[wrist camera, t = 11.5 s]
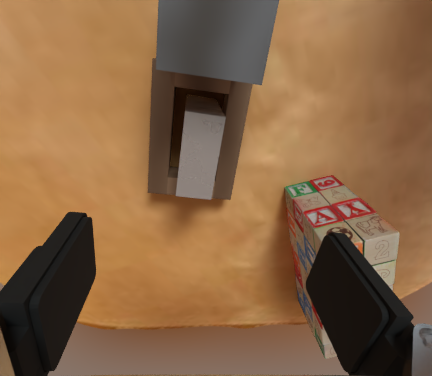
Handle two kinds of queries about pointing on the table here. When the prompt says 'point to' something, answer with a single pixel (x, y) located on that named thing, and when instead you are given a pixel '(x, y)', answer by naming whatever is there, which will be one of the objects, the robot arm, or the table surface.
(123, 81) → the table surface
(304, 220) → the stack of blocks
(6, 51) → the table surface
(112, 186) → the table surface
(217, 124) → the tall grey box
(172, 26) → the post socket
